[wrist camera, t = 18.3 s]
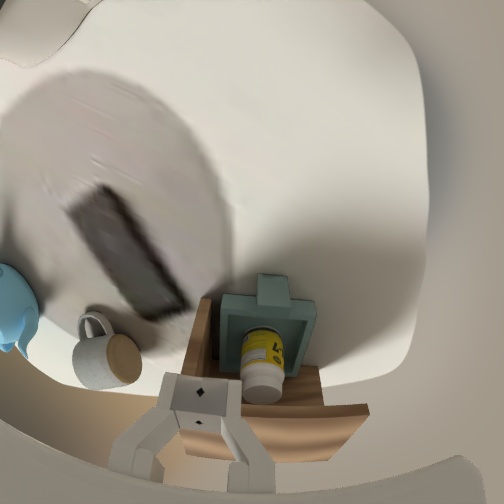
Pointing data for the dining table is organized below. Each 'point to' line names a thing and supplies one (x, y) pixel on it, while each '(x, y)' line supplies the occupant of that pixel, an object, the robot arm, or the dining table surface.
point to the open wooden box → (272, 410)
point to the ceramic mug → (105, 357)
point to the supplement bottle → (262, 365)
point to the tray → (266, 322)
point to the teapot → (16, 310)
